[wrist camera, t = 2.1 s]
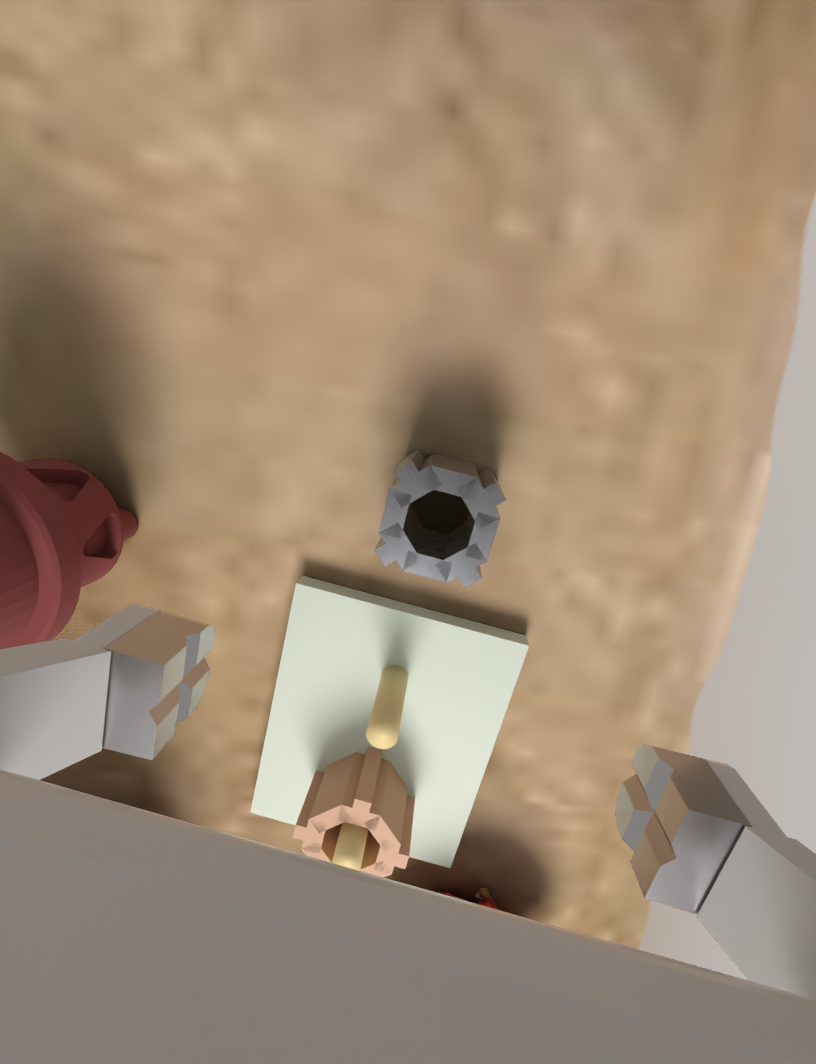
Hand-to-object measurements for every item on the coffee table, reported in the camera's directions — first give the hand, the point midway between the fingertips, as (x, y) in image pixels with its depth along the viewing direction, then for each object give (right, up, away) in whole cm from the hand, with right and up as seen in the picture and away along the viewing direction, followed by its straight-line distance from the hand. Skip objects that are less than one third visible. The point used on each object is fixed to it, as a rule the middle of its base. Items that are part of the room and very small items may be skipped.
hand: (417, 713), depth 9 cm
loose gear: (+2, +5, +17) cm, 18 cm away
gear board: (-2, -8, +21) cm, 23 cm away
